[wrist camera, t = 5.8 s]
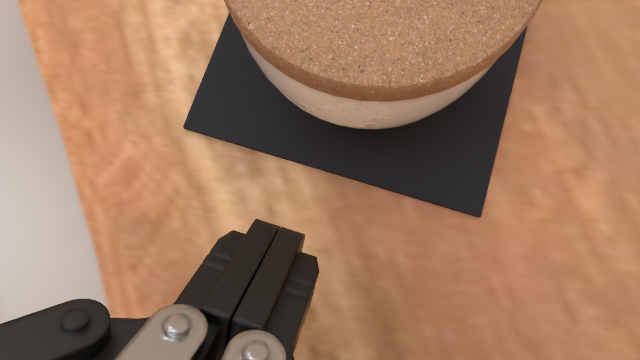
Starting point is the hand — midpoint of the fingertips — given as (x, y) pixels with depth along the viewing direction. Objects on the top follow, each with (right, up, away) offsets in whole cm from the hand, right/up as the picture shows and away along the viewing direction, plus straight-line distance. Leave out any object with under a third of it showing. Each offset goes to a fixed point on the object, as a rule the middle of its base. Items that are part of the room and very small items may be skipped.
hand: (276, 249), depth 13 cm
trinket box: (+3, +8, +8) cm, 12 cm away
